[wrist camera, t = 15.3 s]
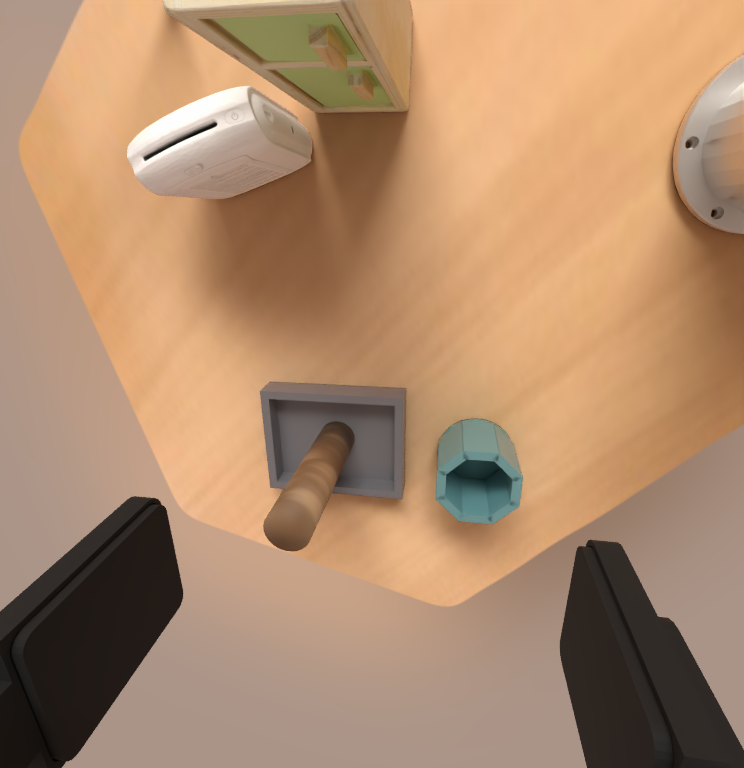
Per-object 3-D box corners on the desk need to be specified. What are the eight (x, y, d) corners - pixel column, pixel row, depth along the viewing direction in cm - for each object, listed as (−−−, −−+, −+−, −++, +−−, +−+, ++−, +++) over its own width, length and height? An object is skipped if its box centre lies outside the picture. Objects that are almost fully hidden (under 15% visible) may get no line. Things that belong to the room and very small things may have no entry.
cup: (516, 420, 44) (526, 454, 38) (509, 486, 46) (517, 527, 40) (439, 416, 45) (436, 447, 39) (436, 480, 47) (433, 519, 41)
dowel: (354, 422, 46) (309, 512, 32) (355, 453, 47) (312, 553, 33) (319, 420, 46) (260, 507, 33) (321, 451, 48) (266, 548, 34)
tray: (406, 388, 44) (403, 398, 42) (404, 484, 48) (402, 499, 46) (270, 381, 46) (260, 390, 44) (279, 474, 50) (270, 487, 48)
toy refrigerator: (312, 124, 37) (161, 31, 18) (309, 16, 35) (130, -230, 15) (408, 124, 36) (357, 23, 17) (413, 11, 34) (359, -260, 14)
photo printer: (303, 108, 37) (237, 62, 26) (321, 163, 38) (266, 142, 27) (199, 156, 40) (97, 133, 28) (219, 205, 41) (129, 203, 30)
